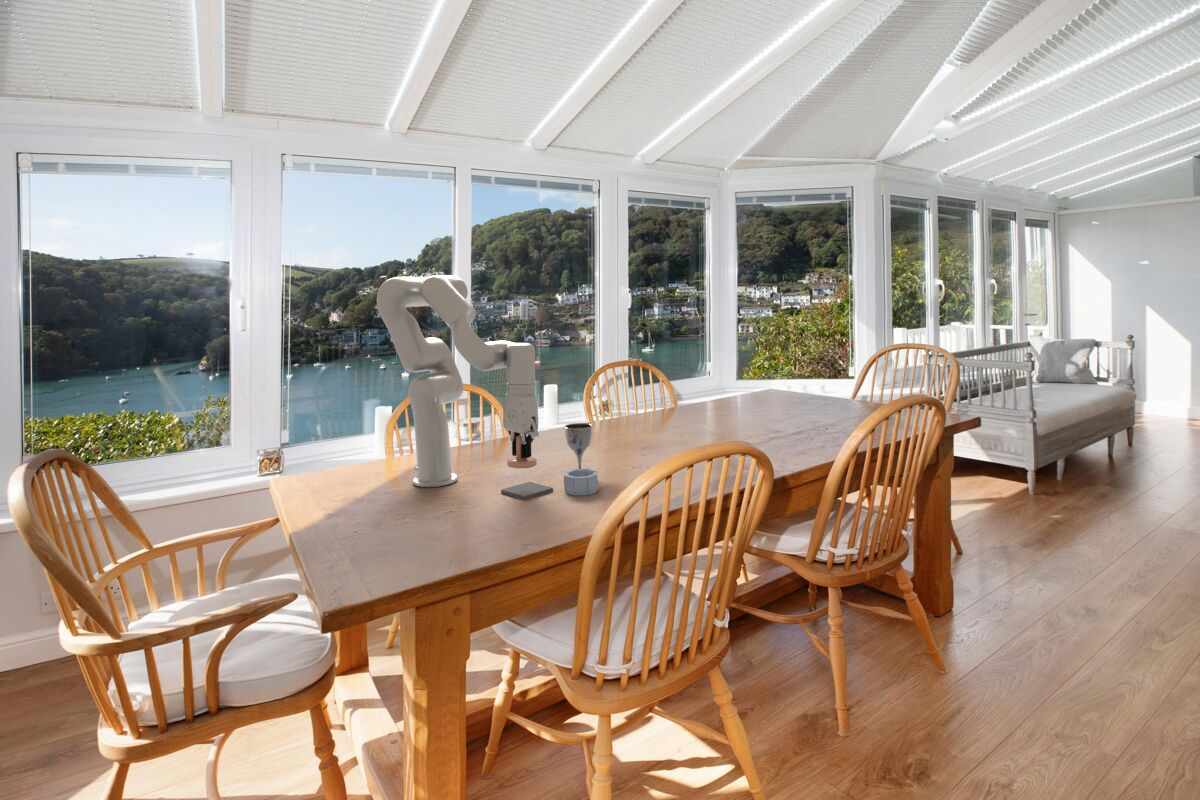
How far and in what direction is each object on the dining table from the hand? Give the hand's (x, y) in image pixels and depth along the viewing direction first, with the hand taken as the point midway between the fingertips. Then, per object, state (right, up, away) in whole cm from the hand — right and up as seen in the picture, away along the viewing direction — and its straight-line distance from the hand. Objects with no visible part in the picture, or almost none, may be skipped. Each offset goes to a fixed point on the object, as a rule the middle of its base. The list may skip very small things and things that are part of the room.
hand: (521, 455), depth 185 cm
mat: (+1, -10, +1) cm, 10 cm away
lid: (0, -2, 0) cm, 2 cm away
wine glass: (+15, -7, +17) cm, 24 cm away
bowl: (+16, -10, 0) cm, 19 cm away
